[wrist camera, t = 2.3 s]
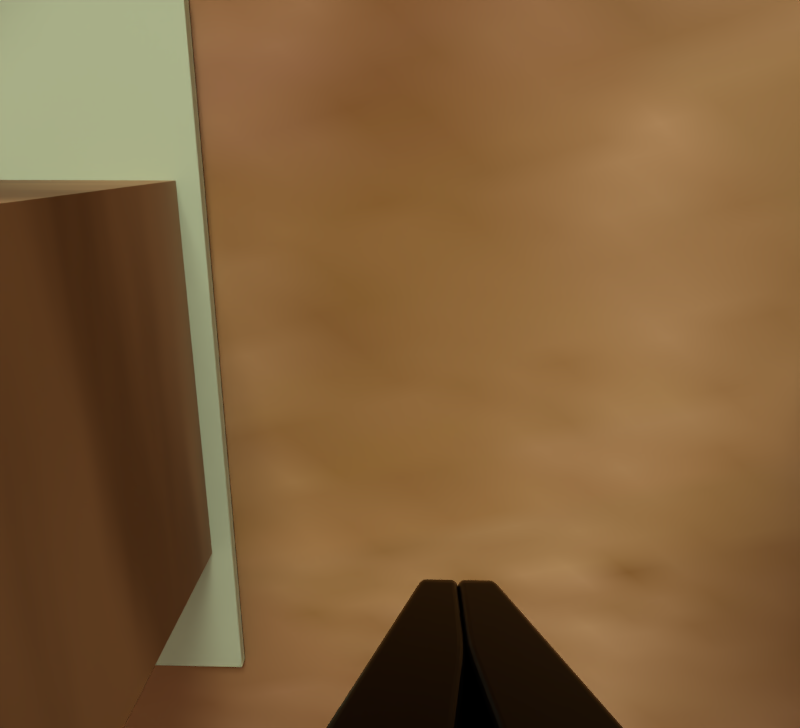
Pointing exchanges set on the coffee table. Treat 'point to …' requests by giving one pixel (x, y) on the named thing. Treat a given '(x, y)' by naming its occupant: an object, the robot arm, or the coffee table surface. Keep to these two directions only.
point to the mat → (132, 160)
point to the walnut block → (93, 447)
